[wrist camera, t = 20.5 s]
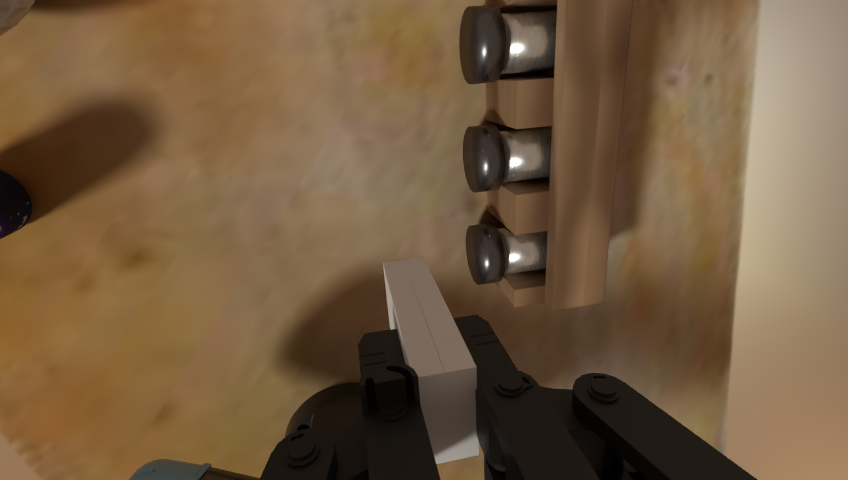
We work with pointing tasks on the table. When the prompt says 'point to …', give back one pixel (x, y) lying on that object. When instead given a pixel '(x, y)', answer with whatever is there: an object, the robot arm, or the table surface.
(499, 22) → the knob
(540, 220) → the wooden rack
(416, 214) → the table surface
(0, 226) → the beverage can
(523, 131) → the knob
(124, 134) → the table surface
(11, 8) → the vase
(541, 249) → the knob
